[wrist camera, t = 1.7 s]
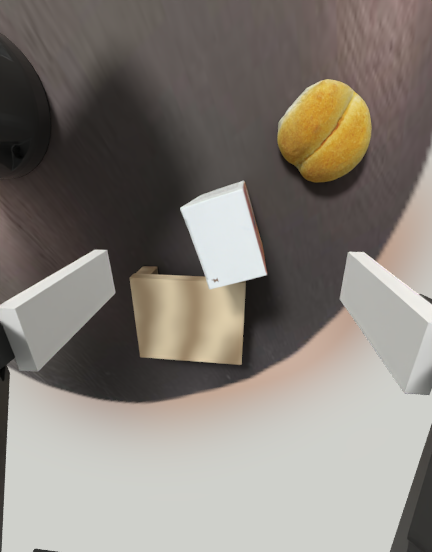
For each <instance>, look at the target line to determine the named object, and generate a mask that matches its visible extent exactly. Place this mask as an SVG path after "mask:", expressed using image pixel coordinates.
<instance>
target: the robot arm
mask: <svg viewBox="0 0 432 552" xmlns="http://www.w3.org/2000/svg"><path fill="white" fill-rule="evenodd" d="M50 128H51V123H50V112H49V106H48V102H47V98H46V95H45V92H44V89H43V87H42V84H41V82H40V80H39V78H38V76H37V74H36V72H35V70H34V69H33V67H32V65H31V64H30V62H29V61H28V60H27V58H26V57H25V56H24V54H23V53H22V52H21V51H20V50H19V49H18V48H17V47H16V46H15V45H14V44H13V43H12V42H11V41H10V40H9V39H8V38H6V37H5V36H4V35H3V34H1V33H0V179H10V178H17V177H20V176H23V175H25V174H27V173H29V172H30V171H32V170H33V169H34V168H35V167H36V166H37V165H38V164H39V163H40V161H41V160H42V158H43V157H44V155H45V152H46V150H47V147H48V143H49V139H50ZM114 294H115V287H114V282H113V277H112V272H111V267H110V261H109V256H108V251H107V250H93V251H92V252H90V253H88V254H86V255H85V256H83V257H81V258H80V259H78V260H76V261H74V262H73V263H71V264H69V265H68V266H66V267H64V268H62V269H61V270H59V271H57V272H56V273H54V274H52V275H50V276H49V277H47V278H45V279H44V280H42V281H40V282H38V283H37V284H35V285H33V286H31V287H30V288H28V289H26V290H25V291H23V292H21V293H19V294H18V295H16V296H14V297H13V298H11V299H9V300H7V301H6V302H4V303H2V304H1V305H0V552H1V548H2V527H3V506H4V483H5V464H6V442H7V420H8V399H9V379H10V372H9V370H8V367H7V364H8V363H9V362H10V361H11V360H13V359H14V358H15V360H16V363H17V365H18V368H19V370H21V371H39V370H40V369H41V368H42V367H43V366H44V365H45V364H46V363H47V362H48V361H49V360H50V359H51V358H52V357H53V356H54V355H55V354H56V353H57V352H58V351H59V350H60V349H61V348H62V347H63V346H64V345H65V344H66V343H67V342H68V341H69V340H70V339H71V338H72V337H73V336H74V335H75V334H76V333H77V332H78V331H79V330H80V329H81V328H82V327H83V326H84V325H85V324H86V323H87V322H88V321H89V320H90V318H91V317H92V316H93V315H94V314H95V313H96V312H97V311H98V310H99V309H100V308H101V307H102V306H103V305H104V304H105V303H106V302H107V301H108V300H109V299H110V298H111V297H112V296H113V295H114ZM340 300H341V302H342V303H343V305H344V306H345V307H346V309H347V310H348V312H349V313H350V315H351V316H352V317H353V319H354V321H355V322H356V324H357V325H358V326H359V328H360V329H361V331H362V332H363V334H364V335H365V336H366V338H367V340H368V341H369V343H370V344H371V345H372V347H373V348H374V350H375V351H376V353H377V354H378V356H379V357H380V359H381V360H382V362H383V363H384V364H385V366H386V367H387V369H388V370H389V372H390V373H391V374H392V376H393V378H394V379H395V380H396V382H397V383H398V385H399V386H400V388H401V389H402V391H403V392H404V393H405V394H421V395H429V394H430V392H431V389H432V299H430V298H428V297H426V296H424V295H422V294H417V293H416V292H415V291H414V290H412V289H411V288H410V287H409V286H407V285H406V284H405V283H403V282H402V281H400V280H399V279H398V278H397V277H396V276H394V275H393V274H391V273H390V272H389V271H388V270H386V269H385V268H384V267H382V266H381V265H380V264H379V263H377V262H376V261H375V260H373V259H372V258H371V257H369V256H368V255H367V254H366V253H364V252H348V255H347V261H346V267H345V272H344V278H343V283H342V289H341V295H340ZM33 552H55V551H48V550H41V549H34V550H33ZM390 552H432V425H431V428H430V431H429V434H428V437H427V441H426V443H425V446H424V449H423V452H422V455H421V458H420V461H419V465H418V468H417V471H416V474H415V477H414V480H413V483H412V486H411V489H410V492H409V495H408V498H407V501H406V504H405V507H404V510H403V513H402V516H401V519H400V522H399V526H398V529H397V532H396V535H395V538H394V541H393V544H392V547H391V550H390Z"/></svg>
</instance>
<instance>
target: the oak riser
mask: <svg viewBox="0 0 432 552" xmlns="http://www.w3.org/2000/svg"><path fill="white" fill-rule="evenodd" d="M130 285H131V293H132V300H133V307H134V315H135V322H136V330H137V337H138V344H139V352H140V357H145V358H158V359H171V360H184V361H197V362H210V363H223V364H236V365H242V346H243V327H244V308H245V288H246V281H242V282H238V283H234V284H230V285H226V286H222V287H218V288H214V289H209V287H208V284H207V281H206V277H202V276H180V275H158V268H157V267H151V266H143V267H142V268H141V269H140V270H139V271H138V272H137V273H134V274H133V275H132V276H131V277H130Z"/></svg>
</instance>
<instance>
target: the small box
mask: <svg viewBox="0 0 432 552" xmlns="http://www.w3.org/2000/svg"><path fill="white" fill-rule="evenodd" d="M180 210H181V213H182V215H183V217H184V220H185V222H186V225H187V227H188V230H189V233H190V235H191V238H192V241H193V243H194V246H195V249H196V252H197V254H198V257H199V260H200V263H201V265H202V268H203V271H204V274H205V277H206V281H207V284H208V287H209V289H214V288H218V287H222V286H226V285H230V284H234V283H238V282H242V281H246V280H250V279H254V278H258V277H262V276H266V275H267V269H266V263H265V257H264V251H263V245H262V241H261V238H260V235H259V231H258V228H257V224H256V220H255V217H254V213H253V209H252V205H251V202H250V198H249V194H248V191H247V187H246V183H245V181H241V182H238V183H235V184H232V185H229V186H226V187H223V188H220V189H217V190H214V191H211V192H208V193H205V194H203V195H200V196H199V197H197V198H195V199H194V200H192V201H191V202H189V203H187V204H186V205H184V206H182V207H181V208H180Z"/></svg>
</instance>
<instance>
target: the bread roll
mask: <svg viewBox="0 0 432 552" xmlns="http://www.w3.org/2000/svg"><path fill="white" fill-rule="evenodd" d="M371 128H372V127H371V119H370V113H369V109H368V107H367V105H366V103H365V102H364V100H363V99H362V98H361V97H360V96H359V95H358V94H356V93H355V92H354V91H353V90H352V89H351V88H350V87H349V86H348V85H346V84H344V83H342V82H339V81H336V80H330V79H327V80H323V81H320V82H318V83H316V84H314V85H312V86H310V87H307V88H306V90H305V91H304V92H303V93H302V94H301V95H300V96H299V97H298V98H297V99H296V101H295V102H294V103H293V104H292V106H291V107H290V108H289V109H288V110H287V111H286V113H285V115H284V116H283V117H282V118H281V120H280V121H279V123H278V138H277V141H278V146H279V149H280V151H281V153H282V155H283V157H284V158H285V159H286V160H287V161H288V162H290V163H291V164H293V165H295V166H296V167H297V168H298V170H299V172H300V173H301V175H302V176H303V177H304V178H305V179H306V180H308V181H311V182H327V181H332V180H335V179H337V178H339V177H341V176H343V175H345V174H347V173H348V172H350V171H351V170H352V169H353V168H354V167H355V166H356V165H357V164H358V163H359V162H360V161H361V160H362V158H363V157H364V155H365V153H366V150H367V148H368V145H369V142H370V137H371Z"/></svg>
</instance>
